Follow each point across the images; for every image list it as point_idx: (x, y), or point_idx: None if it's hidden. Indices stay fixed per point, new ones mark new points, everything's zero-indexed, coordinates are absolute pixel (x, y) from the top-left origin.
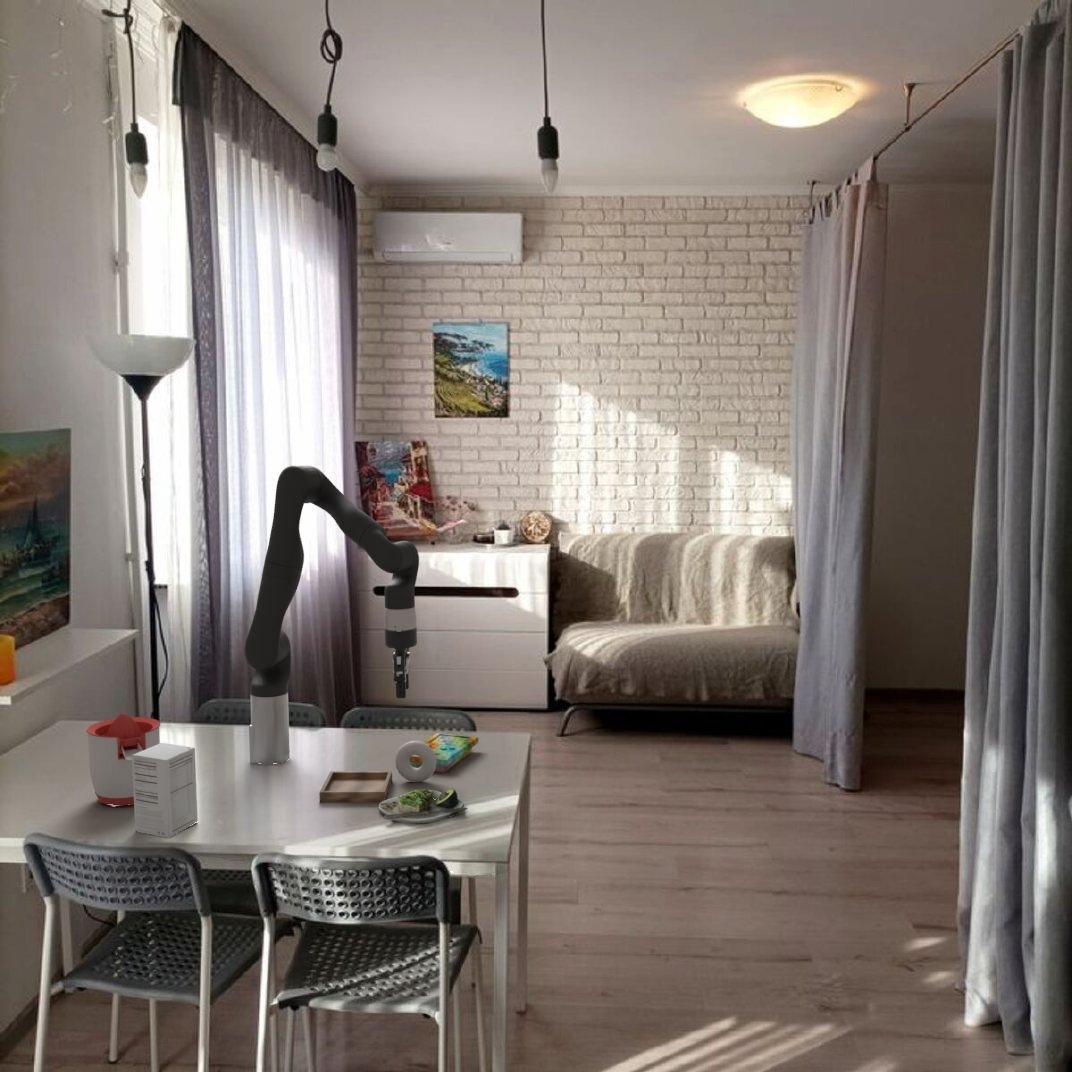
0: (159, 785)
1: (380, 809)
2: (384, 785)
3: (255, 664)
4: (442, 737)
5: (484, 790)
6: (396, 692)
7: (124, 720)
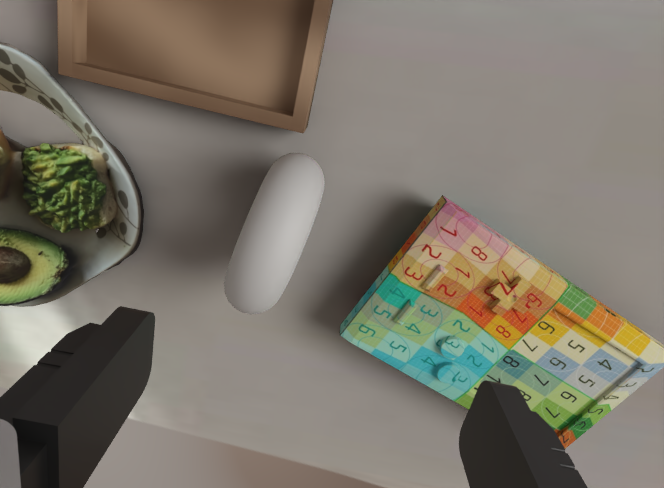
0: None
1: None
2: (134, 82)
3: None
4: (607, 364)
5: (178, 372)
6: (92, 336)
7: None
